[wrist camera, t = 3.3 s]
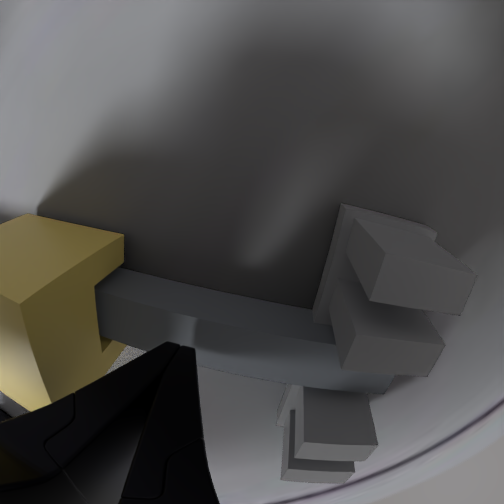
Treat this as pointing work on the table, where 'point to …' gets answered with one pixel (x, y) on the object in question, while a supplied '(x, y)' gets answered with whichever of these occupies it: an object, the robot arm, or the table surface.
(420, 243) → the grey boxy piece
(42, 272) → the pale yellow cube
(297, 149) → the table surface
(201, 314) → the grey long bar
